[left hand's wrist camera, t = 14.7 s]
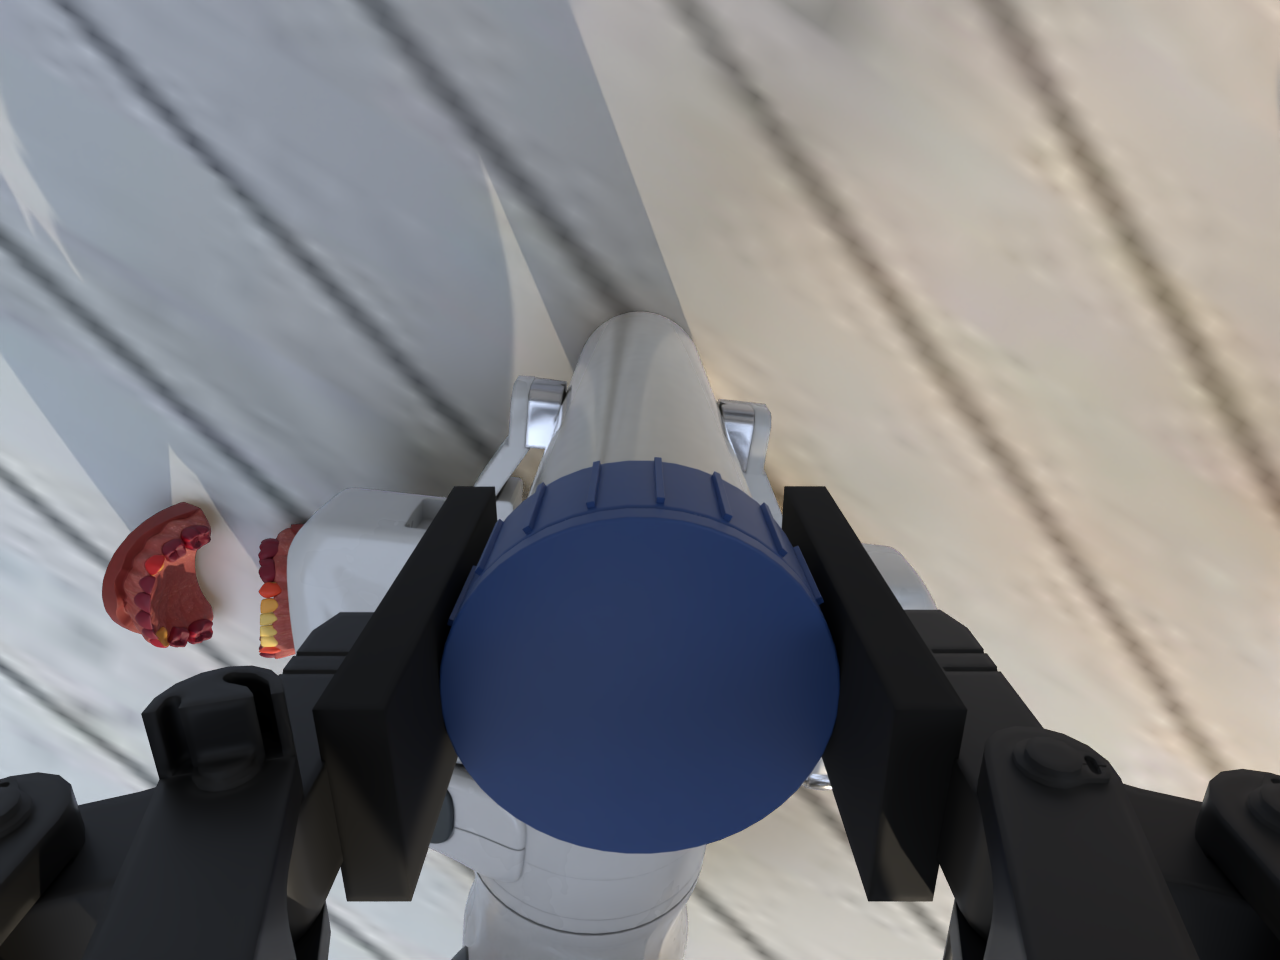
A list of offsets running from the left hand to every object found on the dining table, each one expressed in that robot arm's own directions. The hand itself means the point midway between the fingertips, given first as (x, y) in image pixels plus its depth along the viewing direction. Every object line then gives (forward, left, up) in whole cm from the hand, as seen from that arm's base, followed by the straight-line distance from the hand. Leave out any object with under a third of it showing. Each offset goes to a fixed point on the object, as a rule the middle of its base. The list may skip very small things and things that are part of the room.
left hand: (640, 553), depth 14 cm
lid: (0, 0, +4) cm, 4 cm away
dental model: (+18, 0, -16) cm, 24 cm away
